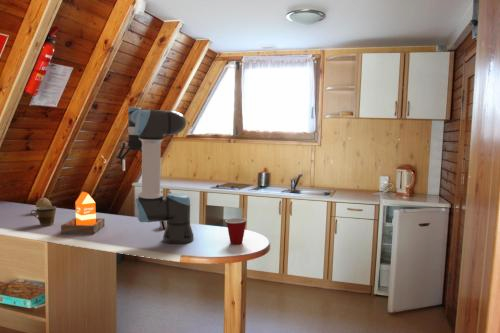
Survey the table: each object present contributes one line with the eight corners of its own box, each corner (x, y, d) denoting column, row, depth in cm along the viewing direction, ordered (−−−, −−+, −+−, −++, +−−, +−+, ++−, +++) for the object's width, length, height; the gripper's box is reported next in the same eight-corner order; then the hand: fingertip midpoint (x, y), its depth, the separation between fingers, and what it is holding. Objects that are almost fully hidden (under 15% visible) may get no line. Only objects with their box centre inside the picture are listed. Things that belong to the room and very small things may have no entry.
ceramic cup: (54, 222, 239) (54, 205, 238) (58, 225, 231) (57, 208, 230) (29, 224, 231) (29, 207, 230) (32, 228, 223) (31, 210, 222)
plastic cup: (229, 239, 208) (230, 216, 207) (249, 241, 205) (250, 218, 204) (221, 244, 198) (221, 220, 197) (242, 247, 195) (242, 222, 193)
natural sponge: (34, 212, 263) (33, 197, 262) (49, 210, 269) (48, 195, 268) (38, 215, 256) (37, 199, 255) (53, 213, 262) (52, 197, 261)
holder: (94, 234, 214) (93, 225, 213) (61, 234, 213) (60, 225, 213) (104, 226, 231) (104, 218, 230) (74, 226, 230) (73, 218, 230)
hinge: (169, 229, 225) (163, 212, 225) (162, 231, 227) (156, 214, 227) (182, 223, 241) (177, 207, 241) (175, 225, 243) (170, 209, 243)
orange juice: (81, 231, 216) (80, 194, 214) (75, 228, 222) (74, 192, 220) (96, 229, 221) (95, 192, 219) (90, 225, 228) (89, 190, 226)
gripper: (158, 134, 239) (158, 170, 242) (115, 133, 239) (115, 169, 241) (155, 134, 232) (155, 171, 234) (111, 134, 231) (112, 171, 233)
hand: (135, 170), depth 237 cm, fingers open, 13 cm apart
